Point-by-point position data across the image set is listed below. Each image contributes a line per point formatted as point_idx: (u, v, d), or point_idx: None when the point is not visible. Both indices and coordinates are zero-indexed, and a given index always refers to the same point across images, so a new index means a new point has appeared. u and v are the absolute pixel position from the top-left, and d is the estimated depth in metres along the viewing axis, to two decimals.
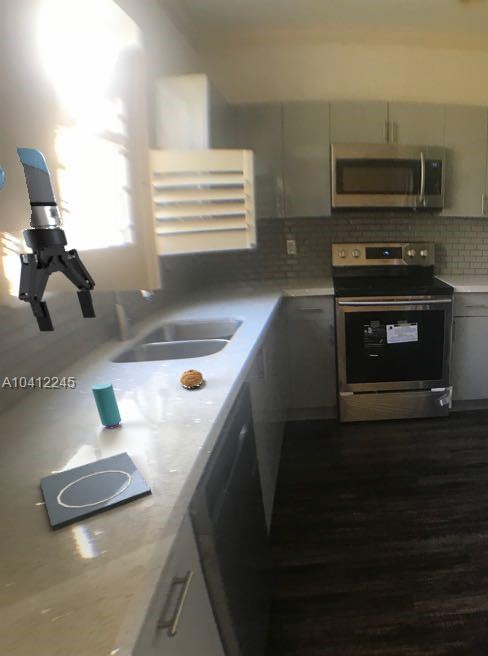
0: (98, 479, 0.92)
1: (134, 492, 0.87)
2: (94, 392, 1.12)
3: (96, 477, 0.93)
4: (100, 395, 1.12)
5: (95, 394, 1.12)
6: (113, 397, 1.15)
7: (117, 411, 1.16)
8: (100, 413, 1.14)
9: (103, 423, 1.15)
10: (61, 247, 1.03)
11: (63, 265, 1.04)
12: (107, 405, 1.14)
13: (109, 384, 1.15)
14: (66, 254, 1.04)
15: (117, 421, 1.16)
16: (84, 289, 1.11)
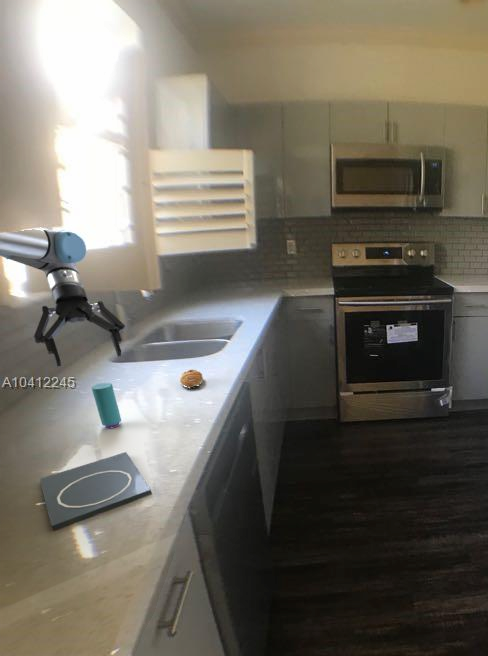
0: (98, 479, 0.92)
1: (134, 492, 0.87)
2: (94, 392, 1.12)
3: (96, 477, 0.93)
4: (100, 395, 1.12)
5: (95, 394, 1.12)
6: (113, 397, 1.15)
7: (117, 411, 1.16)
8: (100, 413, 1.14)
9: (103, 423, 1.15)
10: (83, 300, 1.23)
11: (83, 313, 1.22)
12: (107, 405, 1.14)
13: (109, 384, 1.15)
14: (88, 305, 1.23)
15: (117, 421, 1.16)
16: None
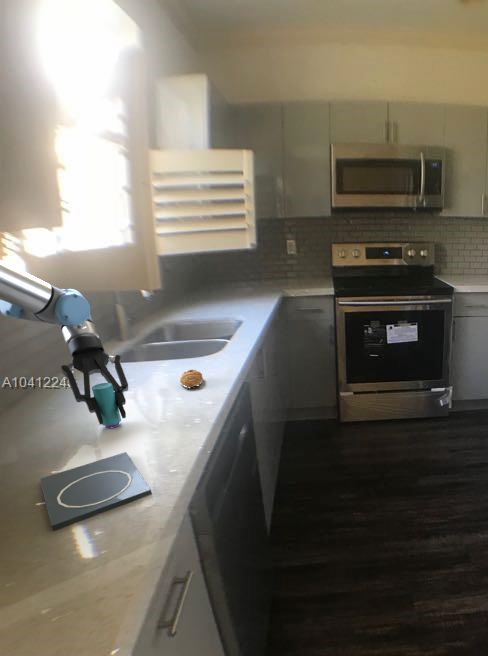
0: (98, 479, 0.92)
1: (134, 492, 0.87)
2: (94, 392, 1.12)
3: (96, 477, 0.93)
4: (100, 395, 1.12)
5: (95, 394, 1.12)
6: (113, 397, 1.15)
7: (117, 411, 1.16)
8: None
9: (103, 423, 1.15)
10: (99, 351, 1.19)
11: (96, 365, 1.17)
12: (107, 405, 1.14)
13: (109, 384, 1.15)
14: (105, 356, 1.19)
15: (117, 421, 1.16)
16: None
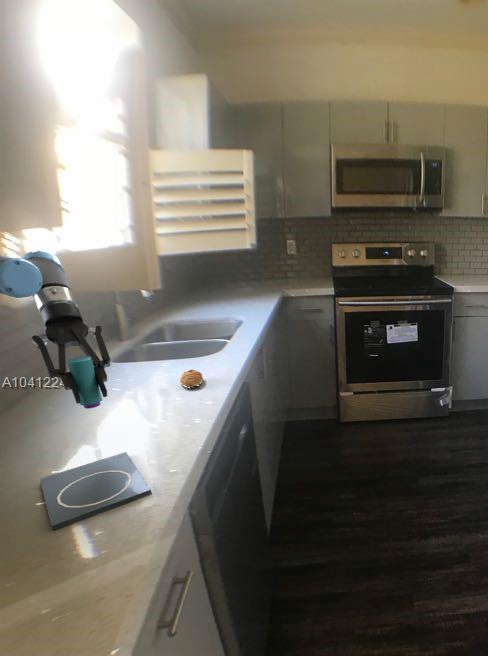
0: (98, 479, 0.92)
1: (134, 492, 0.87)
2: (70, 366, 0.97)
3: (96, 477, 0.93)
4: (77, 370, 0.98)
5: (71, 368, 0.98)
6: (92, 372, 1.00)
7: (97, 389, 1.02)
8: None
9: (81, 402, 1.00)
10: (77, 321, 1.05)
11: (73, 336, 1.02)
12: (86, 381, 0.99)
13: (87, 357, 1.00)
14: (83, 326, 1.05)
15: (97, 400, 1.02)
16: None
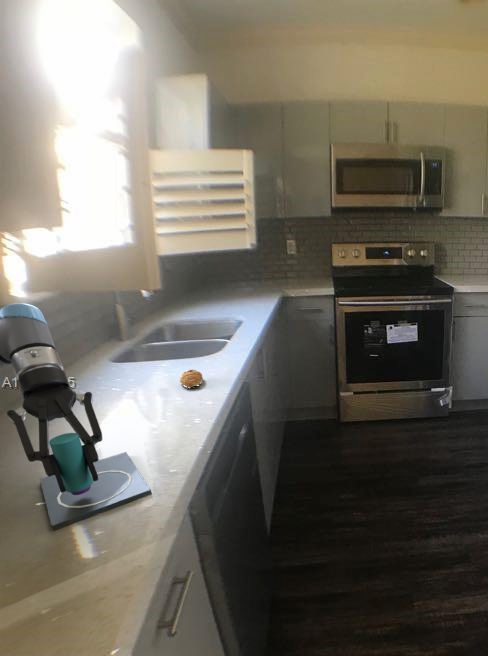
0: (98, 479, 0.92)
1: (134, 492, 0.87)
2: (53, 448, 0.81)
3: None
4: (60, 453, 0.81)
5: (54, 451, 0.81)
6: (80, 453, 0.83)
7: (86, 471, 0.85)
8: (62, 476, 0.83)
9: (67, 489, 0.84)
10: (62, 388, 0.88)
11: (57, 407, 0.85)
12: (72, 465, 0.82)
13: (74, 434, 0.83)
14: (70, 394, 0.88)
15: (87, 485, 0.85)
16: None
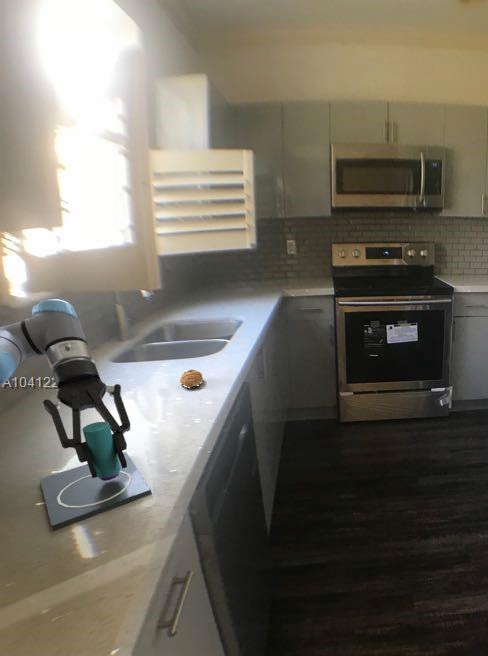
0: (98, 479, 0.92)
1: (134, 492, 0.87)
2: (85, 435, 0.85)
3: (96, 477, 0.93)
4: (93, 440, 0.86)
5: (87, 438, 0.86)
6: (110, 441, 0.88)
7: (116, 458, 0.90)
8: (93, 462, 0.87)
9: (97, 474, 0.88)
10: (93, 380, 0.93)
11: (89, 398, 0.91)
12: (103, 452, 0.87)
13: (105, 423, 0.88)
14: (101, 386, 0.93)
15: (115, 471, 0.90)
16: (115, 433, 0.90)
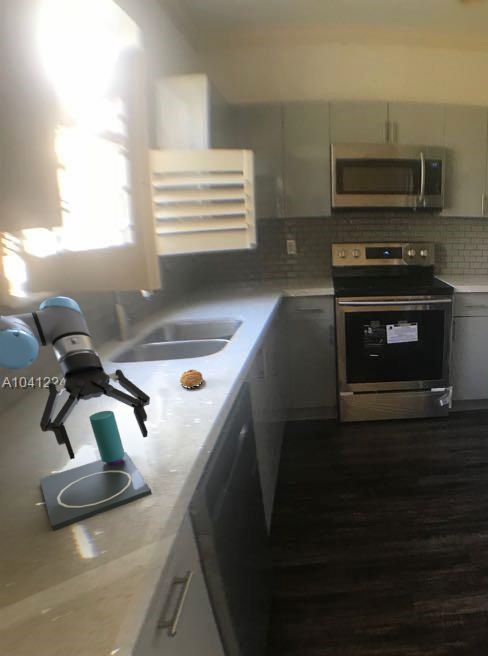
0: (98, 479, 0.92)
1: (134, 492, 0.87)
2: (92, 423, 0.93)
3: (96, 477, 0.93)
4: (99, 427, 0.93)
5: (94, 425, 0.93)
6: (115, 428, 0.96)
7: (120, 444, 0.97)
8: (100, 448, 0.95)
9: (103, 459, 0.96)
10: (98, 371, 1.00)
11: (98, 387, 0.98)
12: (109, 438, 0.95)
13: (110, 412, 0.96)
14: (104, 376, 1.00)
15: (120, 456, 0.97)
16: None
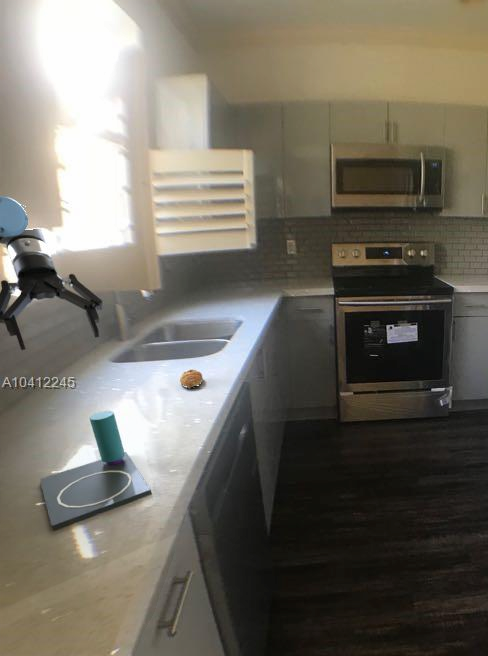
0: (98, 479, 0.92)
1: (134, 492, 0.87)
2: (92, 423, 0.93)
3: (96, 477, 0.93)
4: (99, 427, 0.93)
5: (94, 425, 0.93)
6: (115, 428, 0.96)
7: (120, 444, 0.97)
8: (100, 448, 0.95)
9: (103, 459, 0.96)
10: (51, 274, 1.04)
11: (51, 287, 1.02)
12: (109, 438, 0.95)
13: (110, 412, 0.96)
14: (58, 279, 1.04)
15: (120, 456, 0.97)
16: None
